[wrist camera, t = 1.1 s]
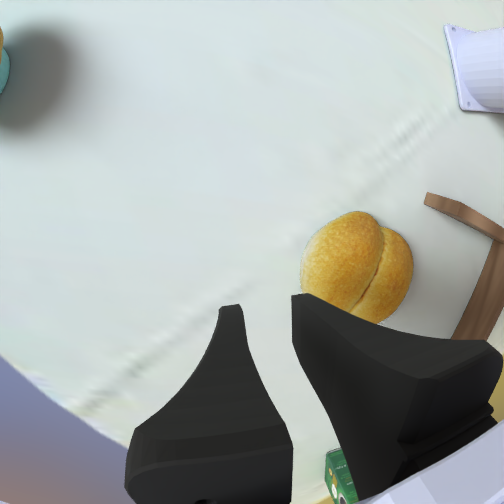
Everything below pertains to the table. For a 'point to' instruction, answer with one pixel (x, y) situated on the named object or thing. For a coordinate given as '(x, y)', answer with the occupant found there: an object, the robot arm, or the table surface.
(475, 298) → the box
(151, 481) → the robot arm
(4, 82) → the cupcake
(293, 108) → the table surface
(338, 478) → the coffee box
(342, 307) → the bread roll
